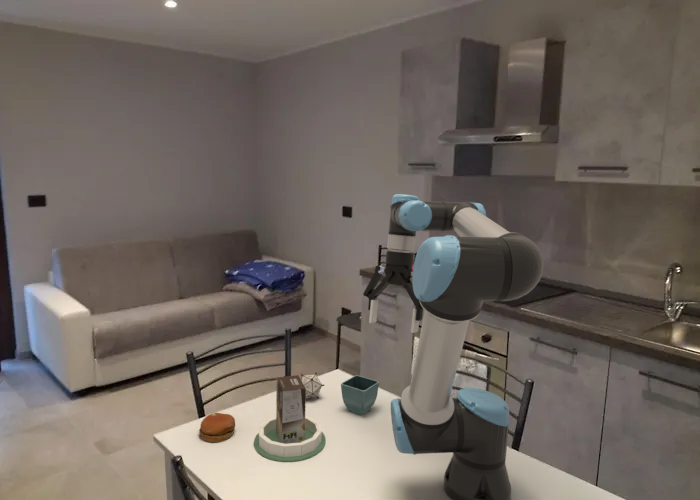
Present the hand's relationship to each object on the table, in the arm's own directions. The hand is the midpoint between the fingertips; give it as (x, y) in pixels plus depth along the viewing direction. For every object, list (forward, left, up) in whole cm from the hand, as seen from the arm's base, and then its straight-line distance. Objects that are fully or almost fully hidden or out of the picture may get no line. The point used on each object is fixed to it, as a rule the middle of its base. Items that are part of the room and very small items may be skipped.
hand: (392, 327), depth 139 cm
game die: (+29, +6, -30) cm, 42 cm away
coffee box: (+12, +26, -30) cm, 41 cm away
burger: (+27, +39, -30) cm, 57 cm away
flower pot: (+13, -1, -30) cm, 33 cm away
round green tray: (+11, +26, -30) cm, 41 cm away
